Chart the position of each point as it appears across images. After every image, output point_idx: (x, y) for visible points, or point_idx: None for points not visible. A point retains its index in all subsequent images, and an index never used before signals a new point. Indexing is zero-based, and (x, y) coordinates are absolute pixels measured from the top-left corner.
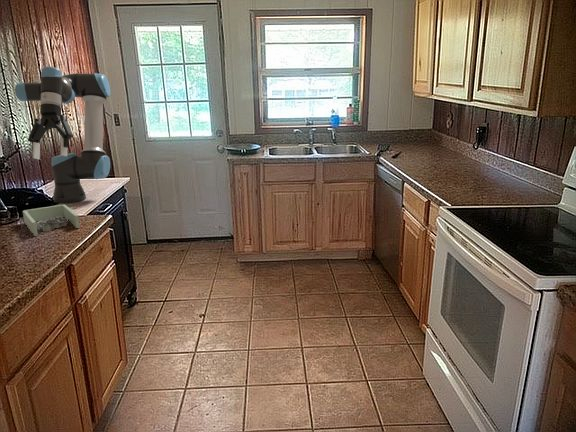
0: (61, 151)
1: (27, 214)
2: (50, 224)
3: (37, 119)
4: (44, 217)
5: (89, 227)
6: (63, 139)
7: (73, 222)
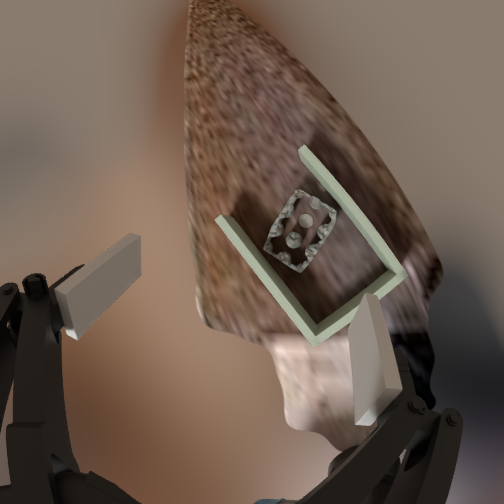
0: (121, 242)
1: (370, 229)
2: (293, 206)
3: None
4: (357, 297)
5: (208, 229)
6: (59, 296)
7: (247, 238)
